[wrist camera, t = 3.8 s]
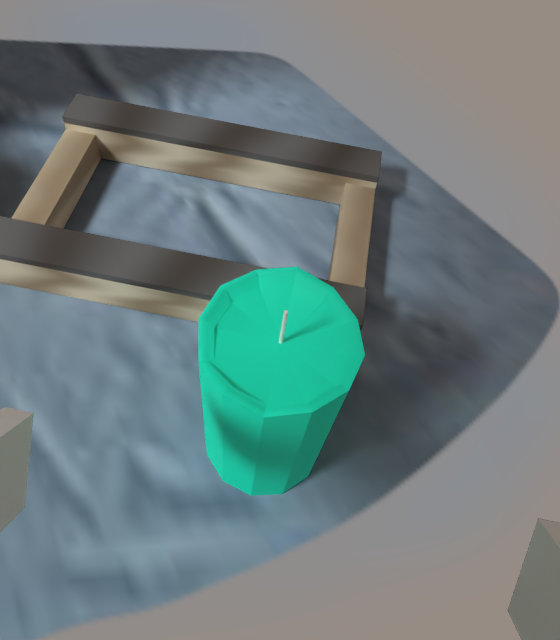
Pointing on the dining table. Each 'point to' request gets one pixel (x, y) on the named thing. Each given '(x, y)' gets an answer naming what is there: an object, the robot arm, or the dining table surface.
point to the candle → (274, 375)
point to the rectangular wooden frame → (190, 159)
